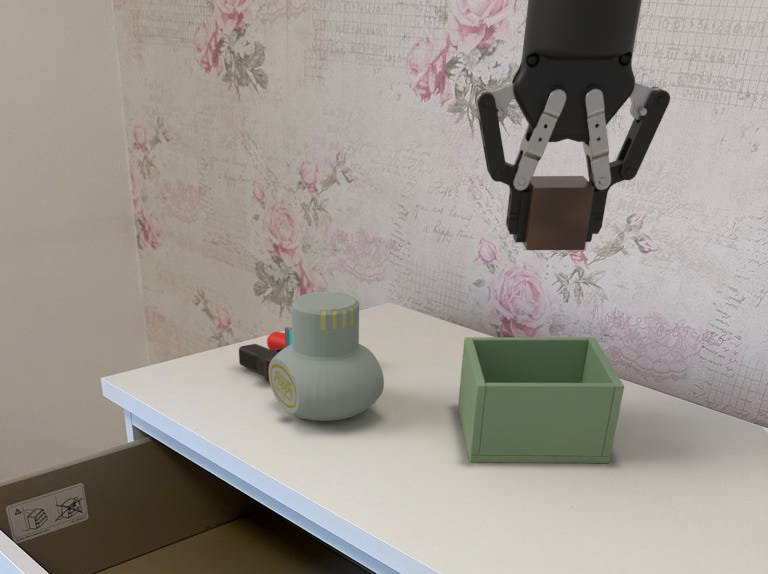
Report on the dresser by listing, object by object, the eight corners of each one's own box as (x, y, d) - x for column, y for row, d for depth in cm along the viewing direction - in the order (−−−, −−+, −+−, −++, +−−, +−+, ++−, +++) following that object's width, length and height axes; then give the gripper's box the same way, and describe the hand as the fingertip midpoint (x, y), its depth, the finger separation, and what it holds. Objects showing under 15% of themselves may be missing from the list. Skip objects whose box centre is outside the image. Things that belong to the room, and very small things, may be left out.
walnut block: (574, 236, 75) (583, 175, 73) (584, 250, 72) (594, 187, 69) (518, 236, 76) (525, 176, 73) (526, 250, 72) (534, 187, 70)
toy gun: (373, 368, 96) (374, 320, 93) (265, 389, 92) (264, 340, 89) (329, 340, 103) (329, 294, 100) (227, 359, 99) (224, 312, 96)
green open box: (582, 408, 87) (595, 337, 83) (609, 463, 78) (624, 386, 74) (457, 407, 87) (464, 337, 84) (469, 462, 78) (477, 385, 74)
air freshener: (392, 424, 85) (397, 311, 79) (307, 440, 82) (307, 325, 76) (340, 382, 93) (341, 278, 87) (262, 396, 90) (258, 290, 85)
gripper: (681, -32, 66) (633, 228, 76) (476, -28, 67) (455, 228, 77) (713, -29, 60) (656, 252, 70) (487, -25, 61) (462, 253, 71)
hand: (551, 238), depth 74 cm, fingers closed on walnut block, 4 cm apart
